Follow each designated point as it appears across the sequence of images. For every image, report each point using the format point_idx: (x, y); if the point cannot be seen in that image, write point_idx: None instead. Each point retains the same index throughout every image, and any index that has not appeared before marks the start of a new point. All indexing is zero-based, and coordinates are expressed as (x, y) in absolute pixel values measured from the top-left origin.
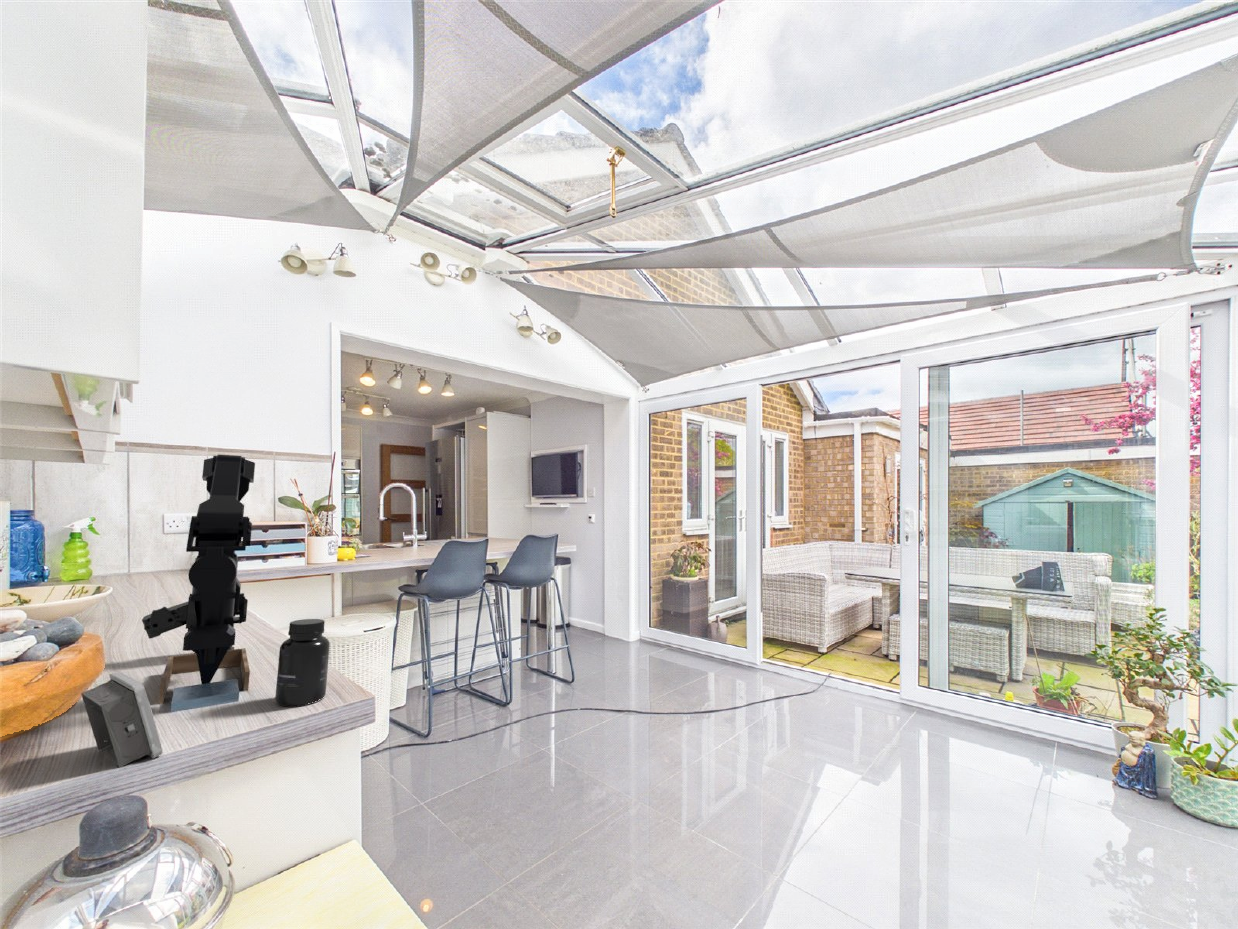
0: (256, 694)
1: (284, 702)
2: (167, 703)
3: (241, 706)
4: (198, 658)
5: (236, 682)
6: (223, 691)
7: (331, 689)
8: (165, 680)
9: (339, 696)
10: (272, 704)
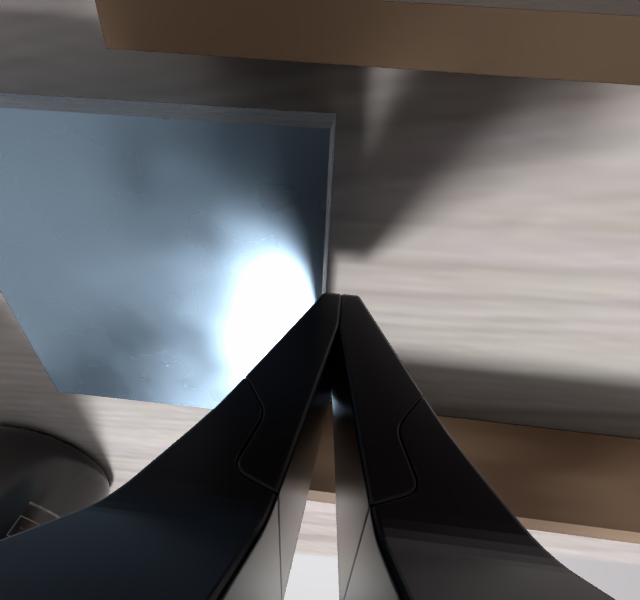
0: (166, 409)
1: None
2: (187, 70)
3: (11, 354)
4: (177, 445)
5: None
6: (84, 351)
7: None
8: (220, 51)
9: None
10: (15, 416)
